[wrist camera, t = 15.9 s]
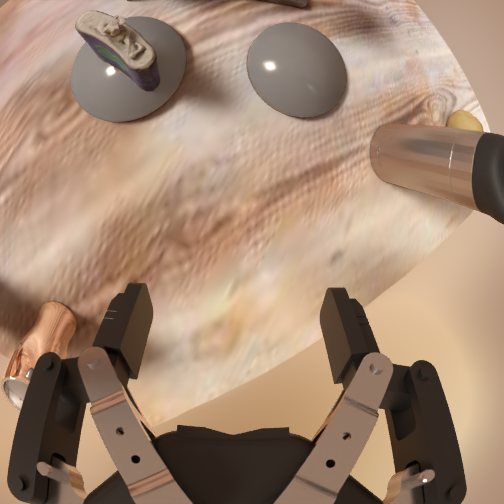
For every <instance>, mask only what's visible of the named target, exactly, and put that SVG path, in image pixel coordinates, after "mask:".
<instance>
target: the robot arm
mask: <svg viewBox="0 0 504 504" xmlns="http://www.w3.org/2000/svg"><path fill="white" fill-rule="evenodd" d="M370 159H371V164H372V167H373V170H374V171H375V173H376V175H377V176H378V177H379V178H380V179H381V180H383V181H385V182H388V183H392V184H395V185H399V186H403V187H406V188H409V189H413V190H416V191H420V192H423V193H426V194H430V195H433V196H436V197H439V198H442V199H445V200H448V201H451V202H454V203H457V204H460V205H463V206H466V207H469V208H472V209H474V210H477V211H480V212H482V213H485V214H487V215H490V216H491V217H493V218H494V219H495V220H497V221H498V222H500V223H502V224H504V136H502V135H498V134H494V133H487V132H481V131H474V130H467V129H458V128H449V127H438V126H425V125H409V124H385V125H383V126H381V127H380V128H378V129H377V131H376V132H375V133H374V135H373V137H372V141H371V144H370ZM152 320H153V306H152V303H151V299H150V295H149V292H148V288H147V285H146V284H145V283H131V282H130V283H129V284H128V285H127V288H126V290H125V292H124V293H119V294H118V295H117V296H116V297H115V298H114V299H113V300H112V301H111V303H110V305H109V307H108V309H107V312H106V314H105V316H104V319H103V321H102V324H101V326H100V328H99V331H98V333H97V336H96V338H95V341H94V343H93V346H92V347H90V348H87V349H85V350H84V351H83V352H82V353H81V354H80V356H79V357H76V358H68V359H61V358H60V357H59V355H58V354H56V353H54V352H47V353H44V354H43V355H41V356H40V357H39V359H38V360H37V362H36V365H35V367H34V370H33V373H32V376H31V379H30V382H29V385H28V388H27V391H26V394H25V397H24V400H23V404H22V407H21V411H20V415H19V418H18V423H17V427H16V431H15V435H14V440H13V445H12V450H11V456H10V462H9V468H8V476H7V482H8V487H9V489H10V491H11V493H12V494H13V495H14V496H15V497H16V498H17V499H18V500H20V501H23V502H26V503H30V504H461V502H462V501H463V500H464V498H465V495H466V490H467V488H466V480H465V474H464V469H463V463H462V458H461V453H460V449H459V444H458V440H457V436H456V432H455V428H454V425H453V421H452V417H451V414H450V410H449V407H448V404H447V401H446V397H445V394H444V391H443V389H442V385H441V382H440V380H439V377H438V374H437V371H436V369H435V367H434V366H433V365H432V364H431V363H429V362H427V361H424V360H419V361H416V362H415V363H414V364H413V365H412V366H411V367H409V366H402V365H396V364H392V363H391V361H390V359H389V358H388V357H387V356H385V355H383V354H381V353H380V351H379V349H378V346H377V343H376V340H375V338H374V335H373V332H372V330H371V327H370V325H369V322H368V319H367V318H366V314H365V312H364V309H363V307H362V306H361V305H360V303H359V302H358V301H357V300H356V299H350V298H349V296H348V293H347V291H346V289H345V288H328V289H327V291H326V294H325V298H324V301H323V304H322V308H321V311H320V325H321V329H322V333H323V337H324V340H325V345H326V349H327V353H328V358H329V362H330V367H331V371H332V376H333V381H334V384H338V383H342V384H343V388H344V389H343V391H342V392H341V394H340V396H339V398H338V399H337V401H336V403H335V405H334V406H333V408H332V410H331V411H330V413H329V415H328V416H327V418H326V420H325V421H324V423H323V424H322V426H321V427H320V429H319V430H318V432H317V433H316V434H315V436H314V437H313V439H312V440H311V441H310V440H308V439H307V438H305V437H302V436H300V435H296V434H292V433H289V427H286V428H263V429H258V430H254V431H250V432H245V433H241V434H236V435H230V434H226V433H222V432H219V431H215V430H212V429H208V428H205V427H194V426H183V425H177V431H172V432H168V433H165V434H162V435H160V436H158V437H157V436H156V434H155V432H154V431H153V429H152V428H151V426H150V425H149V424H148V422H147V421H146V419H145V417H144V416H143V414H142V412H141V410H140V409H139V407H138V405H137V403H136V401H135V399H134V398H133V396H132V394H131V392H130V390H129V388H128V386H127V384H128V380H129V378H131V379H137V377H138V373H139V369H140V365H141V361H142V357H143V353H144V349H145V346H146V342H147V338H148V334H149V331H150V327H151V324H152ZM89 402H91V405H92V407H91V408H90V412H91V415H92V417H93V420H94V422H95V424H96V427H97V429H98V431H99V433H100V436H101V438H102V440H103V442H104V444H105V446H106V448H107V450H108V452H109V454H110V456H111V458H112V460H113V462H114V463H115V465H116V467H117V469H118V470H117V471H116V472H115V473H114V474H113V475H112V476H111V477H109V478H108V479H107V480H106V481H104V482H103V483H102V484H101V485H100V486H98V487H97V488H96V489H95V490H93V491H92V492H91V493H90V494H89V495H87V494H86V492H85V490H84V487H83V486H84V482H83V479H82V475H81V474H80V472H79V471H78V470H77V469H76V460H77V454H78V447H79V441H80V435H81V428H82V423H83V418H84V413H85V409H86V404H87V403H89ZM378 408H380V409H385V414H386V419H387V424H388V429H389V435H390V440H391V446H392V452H393V458H394V465H395V472H396V474H394V475H393V476H392V478H391V479H390V481H389V483H388V488H387V495H386V497H385V499H384V500H383V501H381V500H380V499H379V498H378V497H377V496H375V495H374V494H373V493H372V492H370V491H369V490H368V489H367V488H365V487H364V486H363V485H362V484H360V483H359V482H358V481H357V480H356V479H354V478H353V477H352V476H351V475H350V472H351V471H352V469H353V467H354V465H355V463H356V462H357V460H358V458H359V456H360V454H361V452H362V450H363V449H364V447H365V445H366V443H367V441H368V439H369V437H370V435H371V433H372V431H373V428H374V426H375V424H376V422H377V419H378V416H379V414H378V413H377V411H378Z"/></svg>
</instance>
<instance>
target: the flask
mask: <svg viewBox="0 0 504 504" xmlns="http://www.w3.org/2000/svg"><path fill="white" fill-rule="evenodd" d="M118 17H119V16H115V17H113V16H110V15H108V14H106V13H103V12H99V11H88V12H86V13H84V14H83V15H81V16H80V17H79V18H78V20H77V22H76V25H75V28H76V30H77V31H78V33H79V34H80V35H81V36H82V37H83V38H84V40H85V41H86V42H87V43H88V45H89V46H90V47H91V48H92V50H93V51H94V53H95V54H96V56H97V57H98V58H99V59H101V60H102V61H103V62H104V63H105V62H106V63H109V64H110V65H111V66H112V67H113V69H115V70H116V71H117V72H119V73H122V74H126V75H127V76H128V77H127V79H131V80H133V81H134V83H135V84H136V85H137V86H138V87H139V88H140V89H142V90H143V91H153V92H154V89H156V88H157V87H158V86H159V84H160V82H161V80H160V76H159V71H158V63H157V55H156V52H155V50H154V49H153V47H152V46H151V45H150V44H149V43H148V42H147V41H146V40H145V39H144V38H143V36H142V35H141V34H140V33H139V32H137V31H136V30H135V29H134V28H132V27H131V26H130V25H128V24H127V23H125V18H124V17H119V19H117V18H118Z"/></svg>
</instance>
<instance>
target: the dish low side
mask: <svg viewBox="0 0 504 504" xmlns="http://www.w3.org/2000/svg"><path fill="white" fill-rule="evenodd" d="M125 23H127V24H128V25H130V26H131V27H132V28H134V29H135V30H136V31H137V32H139V33H140V34H141V35H142V36H143V38H144V39H145V40H146V41H147V42H148V43H149V44H150V45H151V46H152V47H153V49H154V50H155V52H156V55H157V63H158V71H159V76H160V80H161V82H160V84H159V86H158V87H157V88H156V89H154V92H153V91H143V90H142V89H140V88H139V87H138V86H137V85H136V84H135V83H134V81H133V80H131V79H127V77H128V76H127V75H126V74H122V73H119V72H117V71H116V70H115V69H113V67H112V66H111V65H110V64H109V63H106V62H105V63H104V62H103V61H102V60H101V59H99V58H98V57H97V56H96V54H95V53H94V51H93V50H92V48H91V47H90V46H89V45H88V43H87V42H85V44H84V45H83V46H82V48H81V49H80V51H79V53H78V54H77V56H76V59H75V61H74V64H73V67H72V72H71V87H72V91H73V95H74V97H75V99H76V101H77V102H78V104H79V105H80V106H81V107H82V108H83V109H84V110H85V111H86V112H87V113H89V114H90V115H92V116H94V117H96V118H99V119H102V120H105V121H110V122H127V121H132V120H136V119H139V118H142V117H144V116H147V115H149V114H150V113H152V112H154V111H156V110H157V109H158V108H160V107H161V106H162V105H163V104H165V103H166V102H167V101H168V100H169V99H170V98H171V96H172V95H173V94H174V93H175V91H176V90H177V88H178V86H179V84H180V83H181V80H182V78H183V74H184V70H185V66H186V51H185V46H184V44H183V41H182V39H181V37H180V36H179V34H178V33H177V32H176V31H175V30H174V29H173V28H172V27H171V26H169V25H168V24H166V23H165V22H162V21H160V20H158V19H154V18H150V17H129V18H125Z"/></svg>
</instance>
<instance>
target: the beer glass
mask: <svg viewBox="0 0 504 504" xmlns="http://www.w3.org/2000/svg"><path fill="white" fill-rule="evenodd" d="M76 327H77V324H76V319H75V317H74V315H73V313H72V312H71V311H70V310H69V309H68V308H67V307H66V306H64V305H63V304H61V303H58V302H47V303H45V304H44V305H43V306H42V307H41V308H40V311H39V314H38V318H37V321H36V323H35V325H34V326H33V327H32V328H31V330H30V331H29V332H28V333H27V334H26V335H25V336H24V337H23V338H22V339H21V341H20V342H19V343H18V345H17V346H16V348H15V349H14V351H13V353H12V355H11V357H10V359H9V362H8V364H7V367H6V370H5V373H4V376H3V379H2V381H1V389H2V391H3V394H4V395H5V397H6V398H7V400H8V401H9V402H10V403H11V404H12V405H13V406H14V407H16V408H17V409H18V410H20V411H21V407H22V404H23V400H24V397H25V394H26V391H27V388H28V385H29V382H30V379H31V376H32V373H33V370H34V367H35V365H36V362H37V360H38V359H39V357H40V356H41V355H43V354H44V353H47V352H54V353H56V354H58V355H59V357H60V358H61V359H66V352H67V346H68V343H69V341H70V339H71V338H72V336H73V335H74V333H75V331H76Z"/></svg>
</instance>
